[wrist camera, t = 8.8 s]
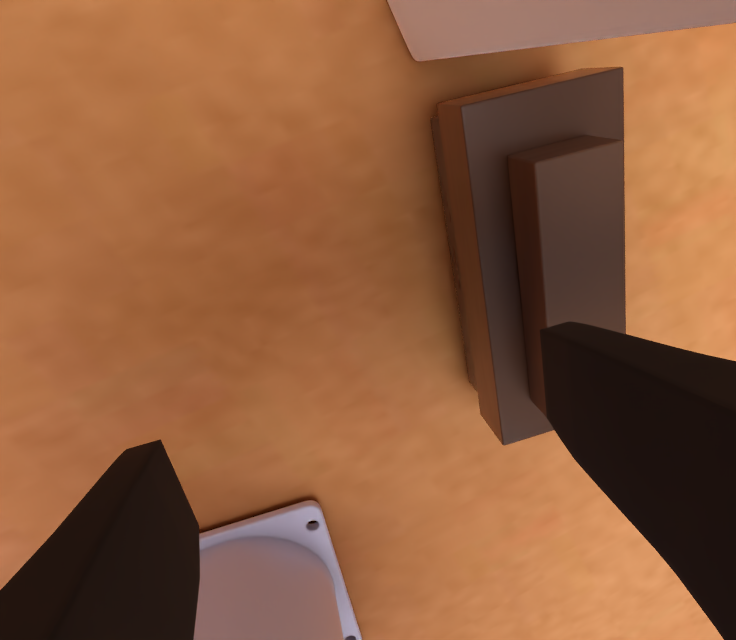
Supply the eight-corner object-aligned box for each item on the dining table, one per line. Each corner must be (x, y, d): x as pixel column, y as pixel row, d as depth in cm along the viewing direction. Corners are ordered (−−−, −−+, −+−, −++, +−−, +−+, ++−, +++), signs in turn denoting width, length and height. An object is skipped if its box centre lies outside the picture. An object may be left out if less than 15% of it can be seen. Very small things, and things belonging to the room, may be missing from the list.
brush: (573, 362, 23) (658, 434, 18) (465, 394, 22) (525, 476, 18) (556, 69, 18) (665, 64, 13) (420, 101, 17) (485, 107, 13)
